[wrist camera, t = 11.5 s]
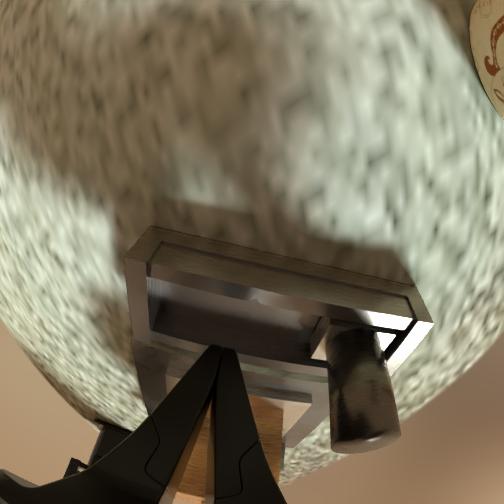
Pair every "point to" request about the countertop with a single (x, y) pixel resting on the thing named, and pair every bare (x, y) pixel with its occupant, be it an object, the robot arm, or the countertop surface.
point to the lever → (357, 384)
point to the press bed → (256, 381)
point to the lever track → (258, 301)
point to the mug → (489, 48)
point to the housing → (195, 472)
